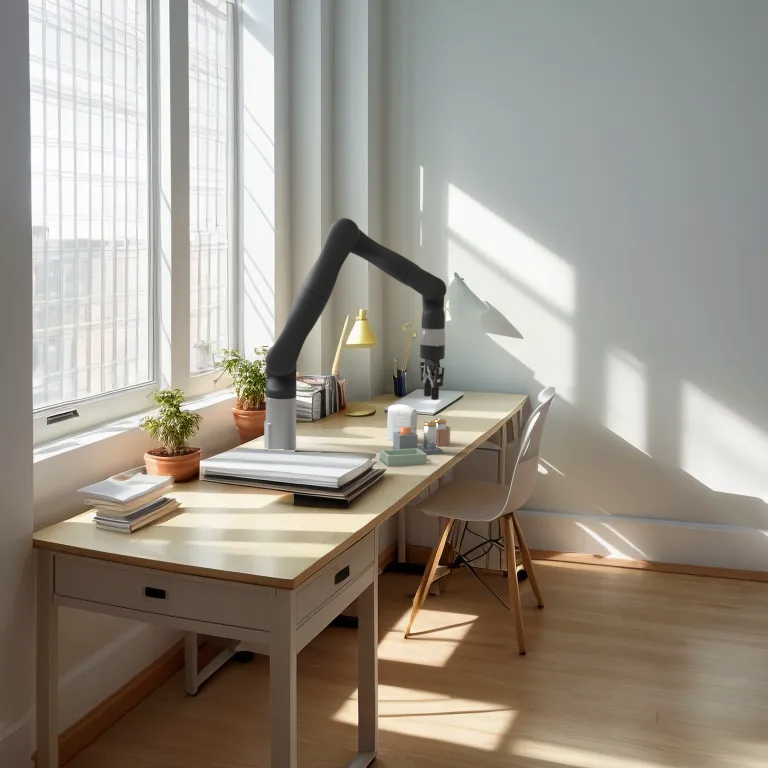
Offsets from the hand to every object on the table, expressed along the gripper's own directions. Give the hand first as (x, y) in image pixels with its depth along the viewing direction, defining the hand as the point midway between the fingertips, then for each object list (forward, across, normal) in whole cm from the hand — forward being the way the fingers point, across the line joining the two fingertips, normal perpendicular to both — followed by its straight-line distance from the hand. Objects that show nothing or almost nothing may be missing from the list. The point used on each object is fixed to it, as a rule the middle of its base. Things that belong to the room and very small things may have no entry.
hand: (431, 397), depth 272 cm
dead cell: (+17, -9, +7) cm, 21 cm away
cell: (+16, 0, 0) cm, 16 cm away
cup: (+17, -9, +7) cm, 21 cm away
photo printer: (+18, -17, -3) cm, 25 cm away
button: (+15, -3, -7) cm, 17 cm away
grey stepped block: (+17, -2, -4) cm, 18 cm away
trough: (+17, +8, -12) cm, 23 cm away
